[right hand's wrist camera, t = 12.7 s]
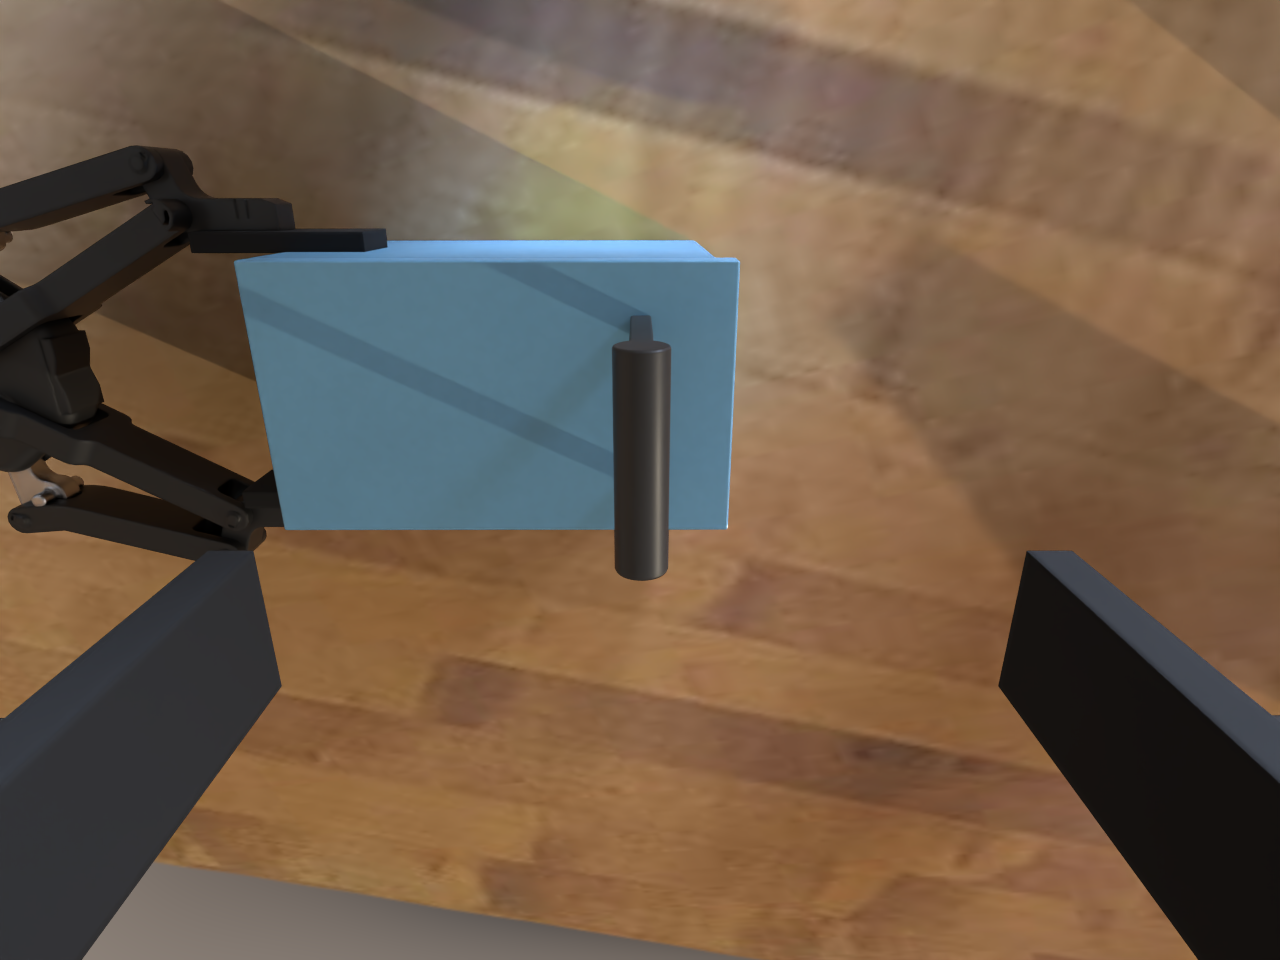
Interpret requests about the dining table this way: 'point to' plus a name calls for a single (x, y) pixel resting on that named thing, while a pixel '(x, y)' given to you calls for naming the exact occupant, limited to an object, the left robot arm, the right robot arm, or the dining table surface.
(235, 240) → the left robot arm
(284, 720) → the dining table surface
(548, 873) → the dining table surface
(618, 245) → the chest
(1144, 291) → the dining table surface
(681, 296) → the lid
